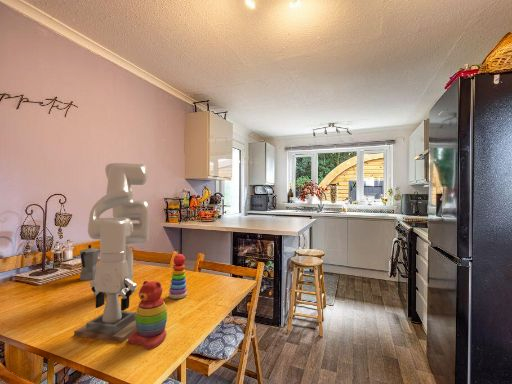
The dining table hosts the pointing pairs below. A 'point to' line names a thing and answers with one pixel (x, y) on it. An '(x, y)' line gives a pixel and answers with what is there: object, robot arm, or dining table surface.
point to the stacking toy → (178, 279)
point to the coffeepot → (88, 263)
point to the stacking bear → (150, 317)
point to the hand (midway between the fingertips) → (112, 307)
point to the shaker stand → (109, 328)
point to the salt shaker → (112, 309)
